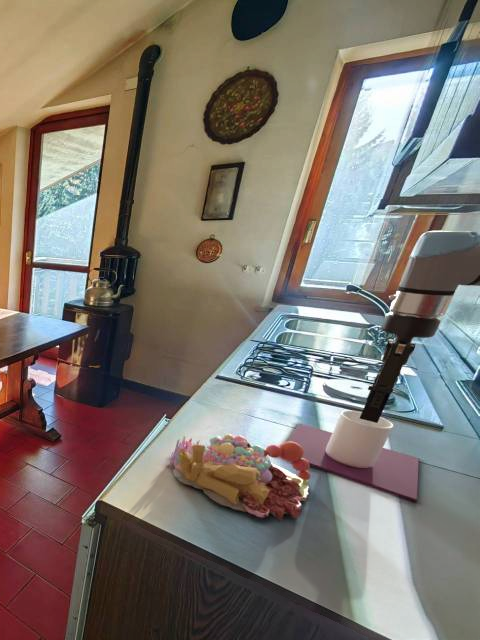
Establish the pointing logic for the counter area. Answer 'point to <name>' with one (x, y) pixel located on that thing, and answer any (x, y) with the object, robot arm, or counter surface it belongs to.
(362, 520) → the counter surface
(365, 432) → the cup
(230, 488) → the food platter
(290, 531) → the counter surface
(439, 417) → the counter surface
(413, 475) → the mat
